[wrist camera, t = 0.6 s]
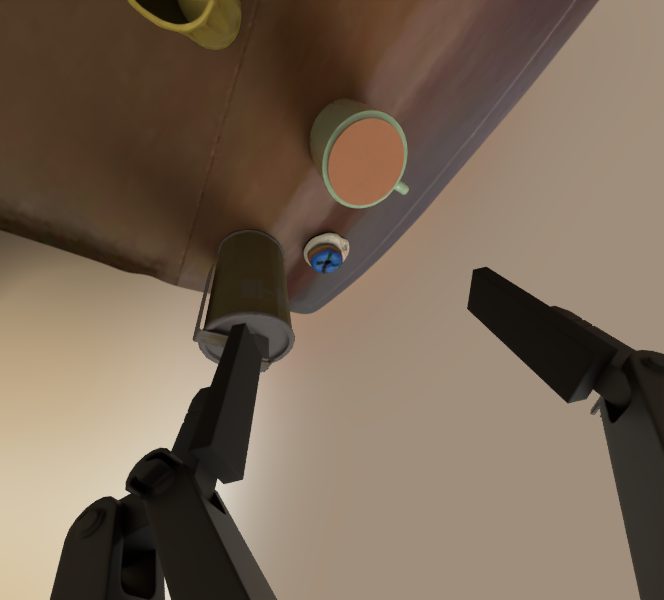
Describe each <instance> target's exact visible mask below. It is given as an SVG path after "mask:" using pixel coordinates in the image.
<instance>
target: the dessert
mask: <svg viewBox="0 0 664 600" xmlns="http://www.w3.org/2000/svg"><path fill="white" fill-rule="evenodd" d="M348 252H349V243H348V240H346V239H343V238H341V237H340V236H339V235H338V234H334V233H325V234H323V235H320V236H317V237H314V238H313V239H311V240H310V241H309V242H308V244H307V245H306V247H305V249H304V258H305V260H306V262H307V263H308V264H309V265H310V266H311V267H312V268H313V269H314V270H316V272H319V273H324V274H325V273H331V272H333V271H335V270H336V269H338V268H340V265H341V264H342V262H343V261H344V260H345V259H346V257H347V255H348Z"/></svg>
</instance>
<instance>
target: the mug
mask: <svg viewBox="0 0 664 600" xmlns="http://www.w3.org/2000/svg"><path fill="white" fill-rule="evenodd" d="M310 153H311V157H312V160H313V162H314V164H315V166H316V168H317V170H318V172H319V174H320V176H321V178H322V180H323V182H324V184H325V185H326V187H327V189H328V191H329V193H330V194H331V195H332V197H333V198H334V199H335V200H336V201H338V202H339V203H341V204H342V205H345V206H347V207H351V208H366V207H370V206H372V205H375V204H377V203H379V202H380V201H382V200H383V199H385V198H386V197H387V196H388V195H389V194H390V193H391V192H392V191H393V190H395V191H397V192H398V193H400V194H402V195H405V194H406V193H408V191H409V187H408V185H406V184H405V183H404V182H403V181H402V180H401V177H402V175H403V172H404V169H405V166H406V161H407V143H406V138H405V135H404V132H403V130H402V128H401V127H400V125H399V124H398V122H397V121H396V120H395V119H394V118H392V117H391V116H390V115H388V114H386V113H384V112H382V111H379V110H377V109H375V108H373V107H370V106H368V105H366V104H363V103H361V102H359V101H357V100H353V99H340V100H336V101H334V102H332V103H330V104H329V105H327V106H326V107H325V108H324V109H323V110H322V111H321V112H320V113H319V115H318V116H317V118H316V119H315V121H314V124H313V126H312V129H311V133H310Z"/></svg>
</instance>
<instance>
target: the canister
mask: <svg viewBox="0 0 664 600" xmlns="http://www.w3.org/2000/svg"><path fill="white" fill-rule="evenodd" d="M284 262H285V255H284V252H283V249H282V247H281V246H280V244H279V243H278V242H277V241H276V240H275V239H274V238H273V237H271V236H269V235H268V234H266V233H264V232H261V231H257V230H242V231H237V232H234V233H231V234H230V235H228V236H227V237H226V238H225V239H224V240H223V241H222V242H221V244H220V246H219V248H218V260H217V265H216V270H215V275H214V280H213V285H212V290H211V295H210V300H209V305H208V310H207V315H206V320H205V325H204V328H203V330H201V329H200V328H199V327H200V322H201V318H202V313H203V309H204V305H205V300H206V296H207V291H208V287H209V282H210V278H211V273H212V269H213V266H212V268H211V270H210V272H209V274H208V277H207V281H206V286H205V290H204V294H203V298H202V302H201V307H200V311H199V315H198V320H197V323H196V327H195V332H194V336H193V341H195V342H198V344H199V348H200V350H201V351H202V352H203V354H204V355H205V356H206V357H207V358H208V359H210V360H211V361H213V362H215V363H217V364H219V361H220V358H221V355H222V353H223V350H224V347H225V344H226V341H227V339H228V336H229V333H230V330H231V327H232V326H233V325H237V324H241V323H246V325H247V327H248V329H249V331H250V333H251V335H252V337H253V339H254V341H255V343H256V345H257V347H258V349H259V351H260V353H261V355H262V362H261V368H260V372H262V371H263V372H265V371H266V370H267V369H268V367H269V366H270V365H271V364H272V363H274V362H276V361H278V360H280V359H282V358H283V357H284V356H285V355H287V353H289V352H290V350H291V349H292V348H293V344H294V341H295V336H294V333H293V330H292V326H291V319H290V309H289V301H288V292H287V283H286V275H285V266H284Z"/></svg>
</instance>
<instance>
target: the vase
mask: <svg viewBox="0 0 664 600" xmlns="http://www.w3.org/2000/svg"><path fill="white" fill-rule="evenodd" d="M127 1H128V2H129V3H130V4H131V5H132V7H133V8H134V9H136V10H137V11H138V12H139V13H140V14H142V15H143V16H144V17H146V18H147V19H148V20H150V21H151V22H153V23H154V24H156V25H157V26H159V27H161V28H164V29H167V30H172V31H177V32H179V33H181V34H183V35H185V36H187V37H189V38H190V39H192V40H193V41H194V42H196V43H197V44H198V45H200V46H202V47H204V48H207V49H211V50H220V49H224V48H226V47H228V46H229V45H230V44H231V43H232V42H233V41H234V40H235V38H236V36H237V34H238V32H239V28H240V23H241V3H240V0H127Z"/></svg>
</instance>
